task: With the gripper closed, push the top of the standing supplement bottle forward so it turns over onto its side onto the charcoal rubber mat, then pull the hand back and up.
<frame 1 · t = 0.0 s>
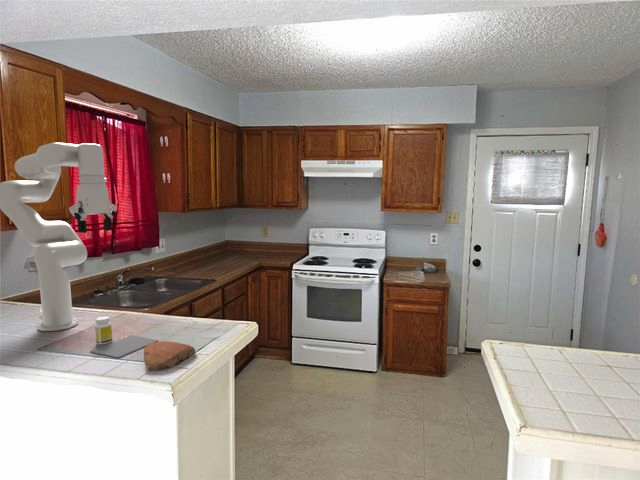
hand: (95, 231, 143), 37 cm above the countertop, tool pointing down, fingers open, 9 cm apart
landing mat: (125, 346, 136), on the countertop
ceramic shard: (161, 362, 124), on the countertop
supplement bottle: (104, 342, 140), on the countertop
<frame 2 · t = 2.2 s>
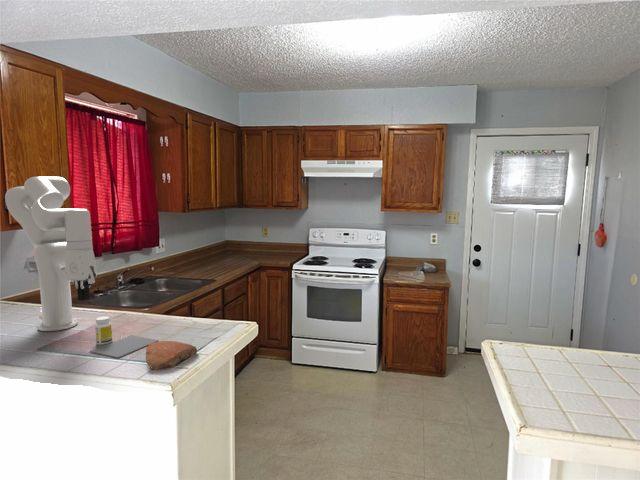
hand: (84, 299, 141), 14 cm above the countertop, tool pointing down, fingers closed
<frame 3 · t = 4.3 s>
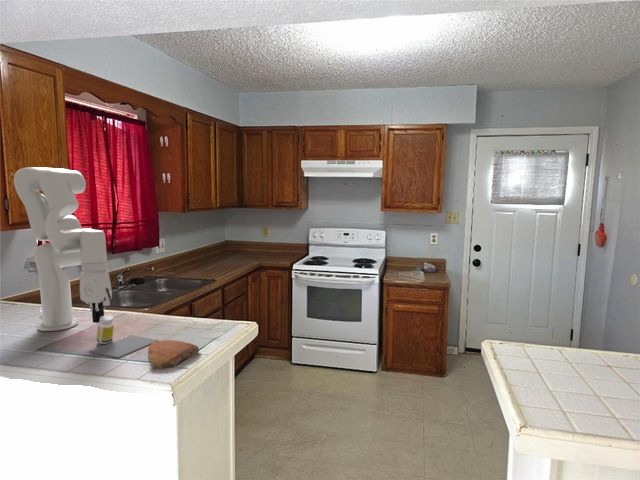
hand: (98, 321, 140), 7 cm above the countertop, tool pointing down, fingers closed
supplement bottle: (104, 341, 140), on the countertop, touching gripper
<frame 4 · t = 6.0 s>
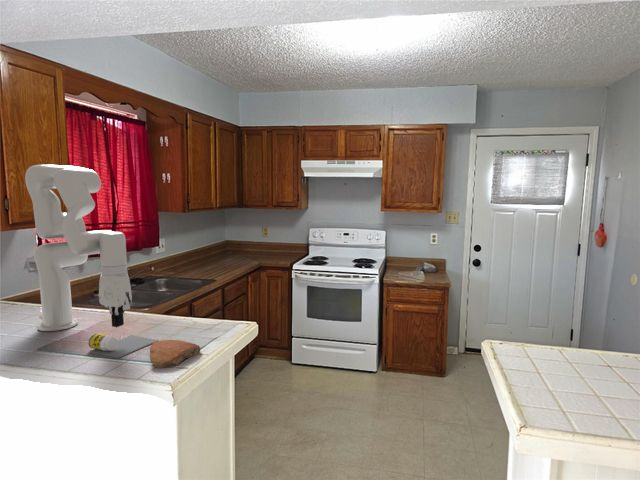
hand: (117, 325, 136), 7 cm above the countertop, tool pointing down, fingers closed
supplement bottle: (93, 340, 134), point 3 cm above the countertop, touching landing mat
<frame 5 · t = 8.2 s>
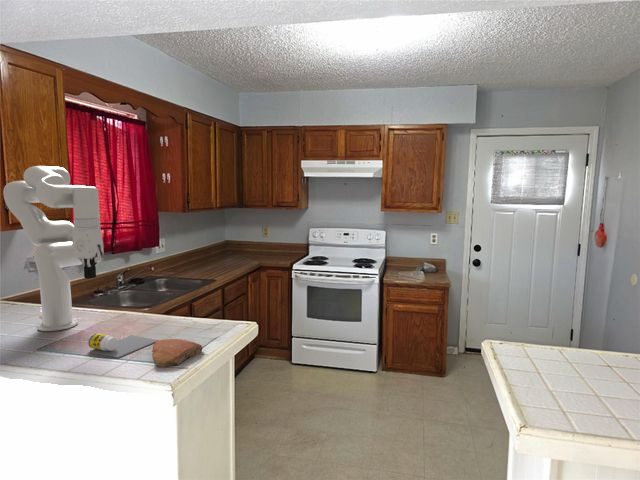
hand: (90, 277, 141), 21 cm above the countertop, tool pointing down, fingers closed
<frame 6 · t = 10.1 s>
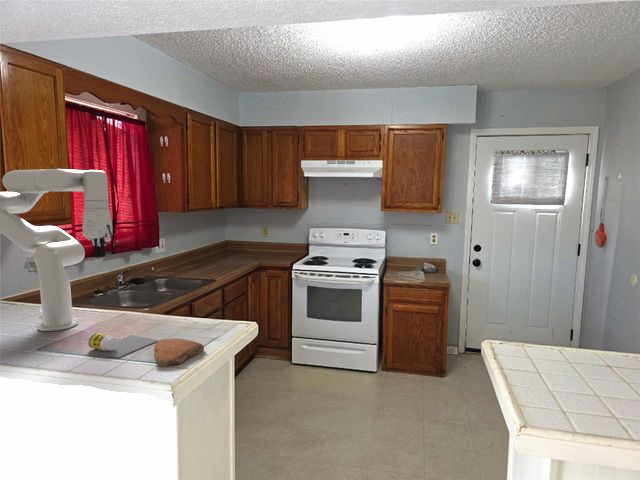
hand: (100, 256, 149), 27 cm above the countertop, tool pointing down, fingers closed
at the end: supplement bottle tilted 90°; supplement bottle inside the target area (7.0 cm from its centre), point 2.8 cm above the countertop; the gripper is holding nothing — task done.
